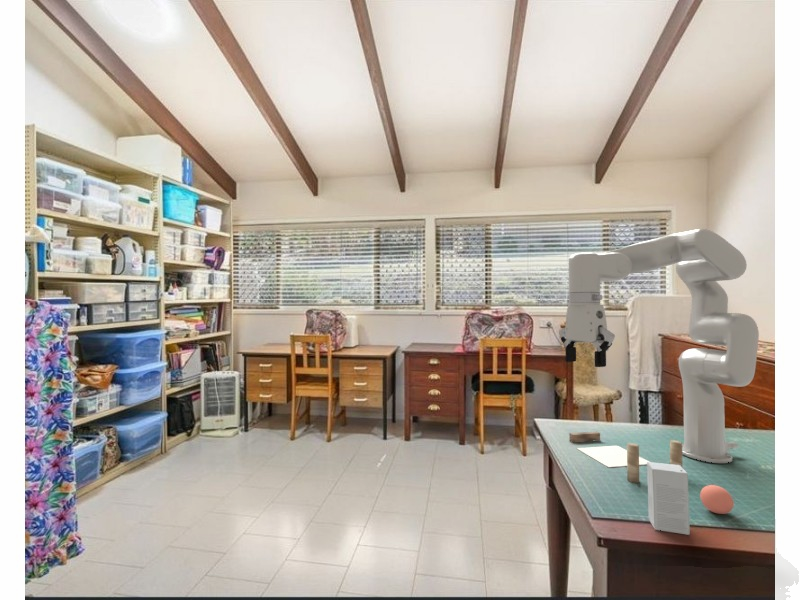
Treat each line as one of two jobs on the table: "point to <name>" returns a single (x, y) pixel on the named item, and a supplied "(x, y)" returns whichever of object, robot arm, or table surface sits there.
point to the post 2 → (676, 453)
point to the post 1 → (633, 463)
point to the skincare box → (668, 497)
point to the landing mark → (610, 455)
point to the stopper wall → (584, 436)
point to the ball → (716, 499)
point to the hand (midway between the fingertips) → (585, 364)
